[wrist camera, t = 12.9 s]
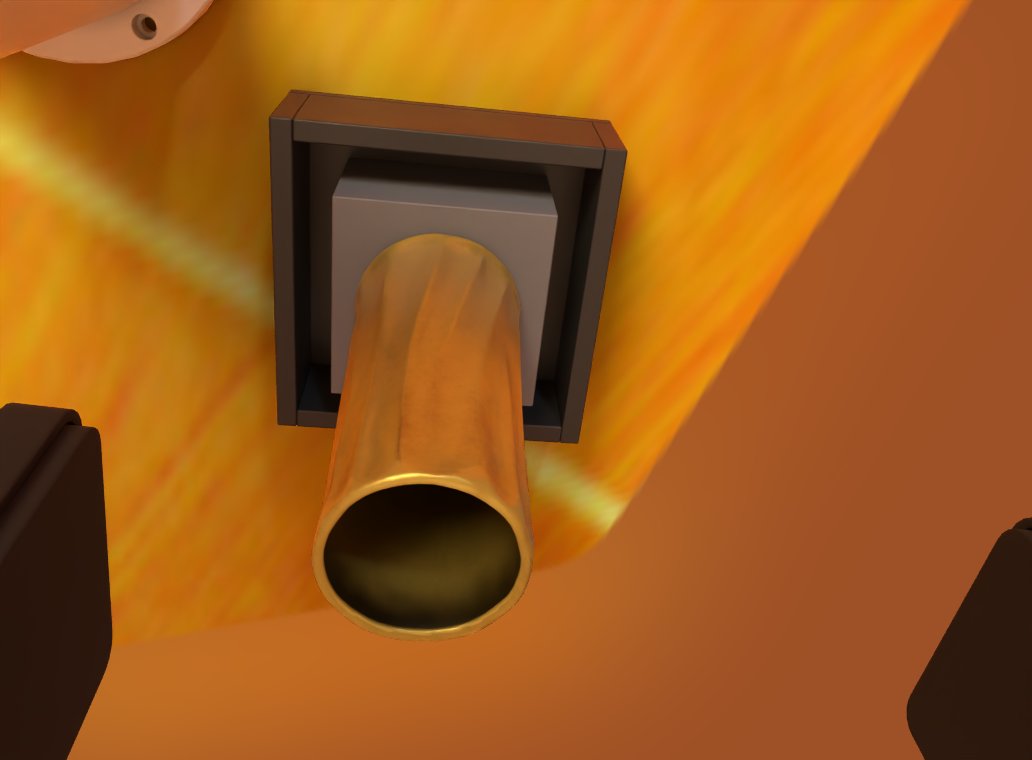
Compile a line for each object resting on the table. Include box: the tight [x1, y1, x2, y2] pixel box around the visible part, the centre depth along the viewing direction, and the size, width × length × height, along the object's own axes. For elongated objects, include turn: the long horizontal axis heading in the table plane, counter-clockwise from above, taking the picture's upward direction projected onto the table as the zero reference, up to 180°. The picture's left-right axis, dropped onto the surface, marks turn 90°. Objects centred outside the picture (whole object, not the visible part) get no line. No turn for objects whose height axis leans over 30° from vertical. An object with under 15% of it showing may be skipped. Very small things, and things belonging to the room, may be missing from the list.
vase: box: [311, 233, 534, 641], centre depth 27 cm, size 6×6×14 cm
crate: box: [269, 90, 627, 444], centre depth 36 cm, size 13×13×4 cm
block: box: [331, 158, 558, 406], centre depth 36 cm, size 8×8×5 cm
